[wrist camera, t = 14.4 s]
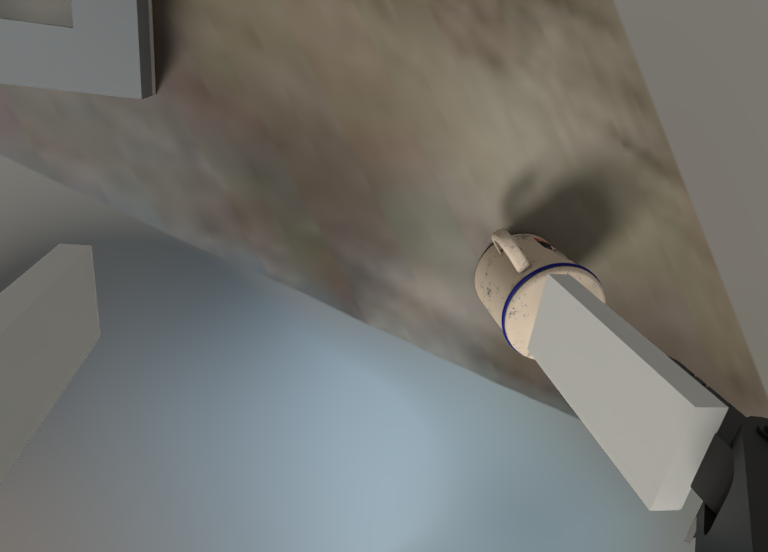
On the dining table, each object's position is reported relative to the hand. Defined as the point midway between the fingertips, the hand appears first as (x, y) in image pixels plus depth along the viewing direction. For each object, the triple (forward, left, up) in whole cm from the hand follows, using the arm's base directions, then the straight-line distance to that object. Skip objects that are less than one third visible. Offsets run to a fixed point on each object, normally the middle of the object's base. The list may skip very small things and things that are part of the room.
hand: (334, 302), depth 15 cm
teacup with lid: (+10, +20, -31) cm, 38 cm away
